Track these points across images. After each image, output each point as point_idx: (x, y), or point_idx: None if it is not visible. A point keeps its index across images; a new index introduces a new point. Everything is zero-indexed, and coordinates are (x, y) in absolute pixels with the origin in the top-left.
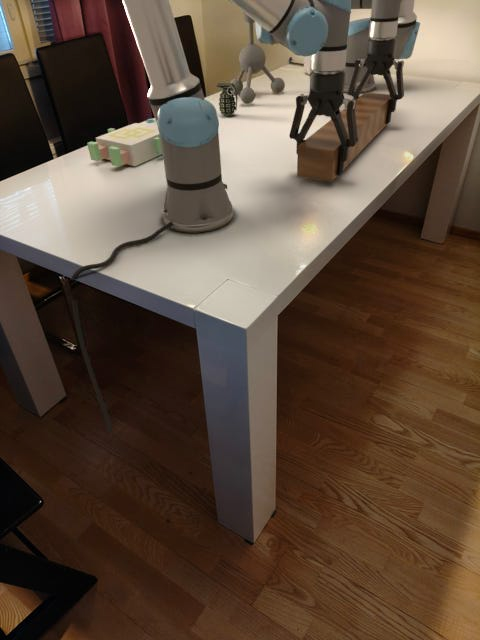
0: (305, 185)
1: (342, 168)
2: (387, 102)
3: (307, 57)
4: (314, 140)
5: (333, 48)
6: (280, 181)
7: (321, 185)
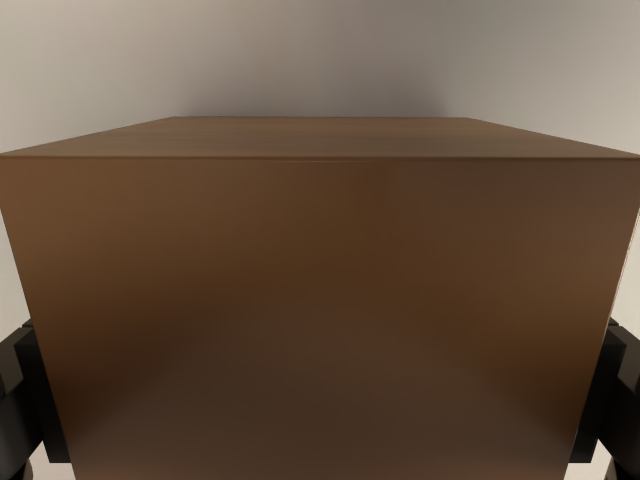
0: (372, 82)
1: None
2: None
3: None
4: (451, 449)
5: None
6: (575, 83)
7: None
